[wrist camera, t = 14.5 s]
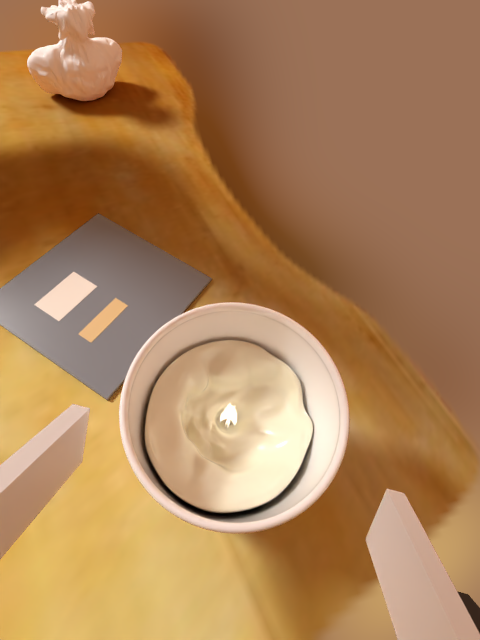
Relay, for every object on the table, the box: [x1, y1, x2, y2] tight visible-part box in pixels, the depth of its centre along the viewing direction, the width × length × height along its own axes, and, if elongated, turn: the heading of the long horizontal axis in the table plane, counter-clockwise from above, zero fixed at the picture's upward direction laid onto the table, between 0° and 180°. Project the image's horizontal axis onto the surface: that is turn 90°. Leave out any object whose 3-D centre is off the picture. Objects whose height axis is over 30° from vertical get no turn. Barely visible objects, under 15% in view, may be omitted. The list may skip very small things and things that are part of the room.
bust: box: [27, 0, 122, 101], centre depth 41 cm, size 12×8×11 cm
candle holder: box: [119, 302, 349, 534], centre depth 19 cm, size 10×10×12 cm
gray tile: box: [0, 213, 212, 401], centre depth 30 cm, size 14×14×1 cm
